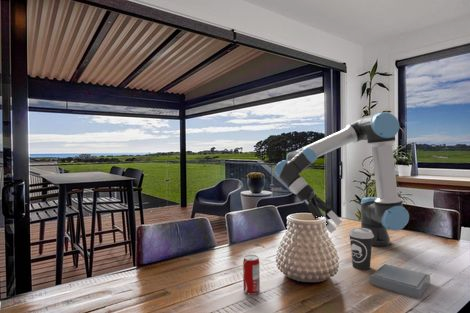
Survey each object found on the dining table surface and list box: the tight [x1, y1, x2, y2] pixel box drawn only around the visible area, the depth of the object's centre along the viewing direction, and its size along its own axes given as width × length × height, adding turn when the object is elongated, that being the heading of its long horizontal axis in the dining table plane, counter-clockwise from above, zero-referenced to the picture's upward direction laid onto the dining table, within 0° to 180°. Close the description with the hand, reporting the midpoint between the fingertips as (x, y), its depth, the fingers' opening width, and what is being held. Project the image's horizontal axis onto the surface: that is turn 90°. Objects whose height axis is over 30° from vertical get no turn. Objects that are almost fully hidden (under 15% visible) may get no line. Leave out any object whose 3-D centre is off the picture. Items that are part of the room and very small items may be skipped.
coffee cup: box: [348, 227, 374, 271], centre depth 119 cm, size 10×10×15 cm
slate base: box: [370, 263, 431, 300], centre depth 104 cm, size 15×15×3 cm
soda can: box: [242, 254, 261, 295], centre depth 100 cm, size 6×6×12 cm
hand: (337, 227), depth 123 cm, fingers open, 13 cm apart
